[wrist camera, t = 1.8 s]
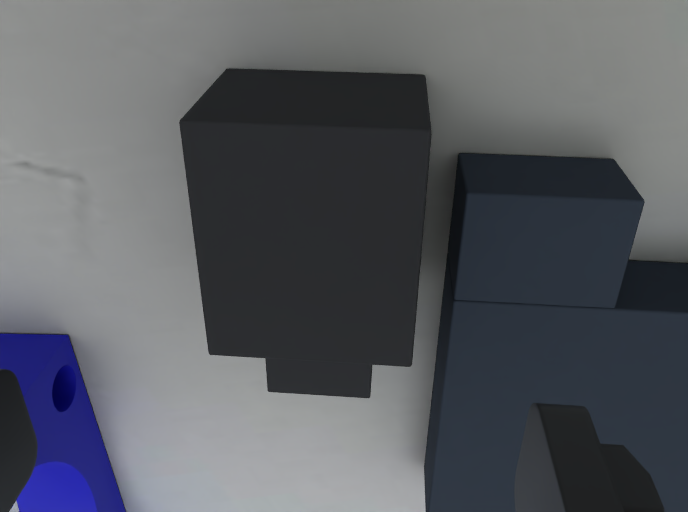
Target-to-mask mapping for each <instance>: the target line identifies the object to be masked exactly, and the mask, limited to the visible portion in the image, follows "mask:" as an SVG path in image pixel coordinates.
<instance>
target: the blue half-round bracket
mask: <svg viewBox="0 0 688 512" xmlns="http://www.w3.org/2000/svg"><path fill="white" fill-rule="evenodd" d="M0 369H7V370H10V371H12V372H13V373H14V374H15V375H16V377H17V379H18V382H19V385H20V388H21V391H22V394H23V397H24V400H25V403H26V407H27V410H28V413H29V416H30V419H31V422H32V425H33V428H34V431H35V434H36V438H37V444H38V451H37V459H36V463H35V467H34V470H33V472H32V475H31V477H30V479H29V480H28V482H27V484H26V485H25V487H24V488H23V490H22V492H21V493H20V495H19V496H18V498H17V500H16V501H17V504H18V507H19V512H126V511H125V508H124V505H123V502H122V499H121V496H120V493H119V489H118V486H117V483H116V480H115V477H114V474H113V471H112V468H111V465H110V462H109V459H108V456H107V453H106V450H105V447H104V443H103V440H102V437H101V434H100V431H99V428H98V425H97V422H96V419H95V416H94V413H93V410H92V407H91V404H90V401H89V398H88V394H87V391H86V388H85V385H84V382H83V379H82V376H81V373H80V370H79V367H78V364H77V361H76V358H75V355H74V352H73V348H72V345H71V342H70V339H69V336H68V335H46V334H0Z"/></svg>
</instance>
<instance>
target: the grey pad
mask: <svg viewBox="0 0 688 512" xmlns="http://www.w3.org/2000/svg"><path fill="white" fill-rule="evenodd" d="M643 205H644V199H643V198H642V197H641V195H640V194H639V193H638V191H637V190H636V188H635V187H634V186H633V184H632V183H631V182H630V180H629V179H628V178H627V176H626V175H625V174H624V172H623V171H622V170H621V168H620V167H619V165H618V164H617V163H616V161H615V160H614V159H598V158H572V157H547V156H521V155H496V154H470V153H460V154H459V155H458V162H457V171H456V180H455V189H454V199H453V208H452V217H451V226H450V235H449V244H448V254H447V263H446V272H445V281H444V290H443V300H442V309H441V318H440V327H439V336H438V345H437V355H436V364H435V373H434V382H433V391H432V400H431V410H430V419H429V428H428V437H427V446H426V455H425V465H424V475H425V503H426V512H516V510H515V492H514V489H515V475H516V469H517V464H518V460H519V455H520V450H521V445H522V441H523V436H524V431H525V426H526V422H527V417H528V412H529V409H530V406H531V405H532V404H533V403H543V404H559V405H575V406H584V407H586V408H587V410H588V412H589V414H590V416H591V419H592V422H593V425H594V427H595V430H596V433H597V436H598V439H599V441H600V443H601V444H616V445H624V446H625V447H626V448H627V450H628V451H629V452H630V453H631V454H632V455H633V456H634V457H635V458H636V459H637V461H638V462H639V463H640V464H641V465H642V466H643V467H644V468H645V469H646V471H647V472H648V473H649V474H650V475H651V477H652V480H653V482H654V485H655V487H656V489H657V492H658V494H659V496H660V499H661V501H662V504H663V506H664V508H665V511H664V512H688V263H667V262H647V261H628V259H629V255H630V252H631V248H632V245H633V241H634V238H635V234H636V230H637V227H638V223H639V220H640V216H641V213H642V209H643Z"/></svg>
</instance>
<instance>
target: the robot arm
mask: <svg viewBox="0 0 688 512" xmlns="http://www.w3.org/2000/svg"><path fill="white" fill-rule="evenodd" d="M37 451H38V444H37V438H36V434H35V431H34V428H33V425H32V422H31V419H30V416H29V413H28V410H27V407H26V403H25V400H24V397H23V394H22V391H21V388H20V385H19V382H18V379H17V377H16V375H15V374H14V373H13V372H12V371H10V370H7V369H0V512H9V511H10V509H11V508H12V506H13V504H14V503H15V501H16V500H17V498H18V496H19V495H20V493H21V492H22V490H23V488H24V487H25V485H26V484H27V482H28V480H29V479H30V477H31V475H32V472H33V470H34V467H35V463H36V459H37ZM514 492H515V510H516V512H664V511H665V508H664V506H663V504H662V501H661V499H660V496H659V494H658V492H657V489H656V487H655V485H654V482H653V480H652V477H651V475H650V474H649V473H648V472H647V471H646V469H645V468H644V467H643V466H642V465H641V464H640V463H639V462H638V461H637V459H636V458H635V457H634V456H633V455H632V454H631V453H630V452H629V451H628V450H627V448H626V447H625V446H624V445H616V444H601V443H600V441H599V439H598V436H597V433H596V430H595V427H594V425H593V422H592V419H591V416H590V414H589V412H588V410H587V408H586V407H584V406H575V405H559V404H543V403H533V404H532V405H531V406H530V409H529V412H528V417H527V422H526V426H525V431H524V436H523V441H522V445H521V450H520V455H519V460H518V464H517V469H516V475H515V489H514Z"/></svg>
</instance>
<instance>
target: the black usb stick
mask: <svg viewBox="0 0 688 512" xmlns="http://www.w3.org/2000/svg"><path fill="white" fill-rule="evenodd" d="M180 130H181V138H182V146H183V154H184V162H185V170H186V178H187V185H188V193H189V201H190V209H191V217H192V225H193V233H194V241H195V248H196V256H197V264H198V272H199V280H200V288H201V296H202V304H203V312H204V319H205V327H206V335H207V343H208V351H209V354H210V355H223V356H239V357H256V358H266V372H267V387H268V391H269V392H280V393H296V394H311V395H327V396H343V397H358V398H370V392H371V376H372V365H388V366H405V367H410V366H411V365H412V357H413V345H414V334H415V322H416V310H417V298H418V286H419V274H420V262H421V251H422V239H423V227H424V215H425V203H426V191H427V180H428V168H429V156H430V144H431V122H430V113H429V104H428V95H427V86H426V77H425V75H414V74H383V73H351V72H319V71H288V70H256V69H226V70H225V71H224V72H223V74H222V75H221V76H220V77H219V78H218V79H217V80H216V81H215V82H214V83H213V85H212V86H211V87H210V88H209V89H208V90H207V91H206V92H205V93H204V94H203V96H202V97H201V98H200V99H199V100H198V101H197V102H196V103H195V104H194V105H193V107H192V108H191V109H190V110H189V111H188V112H187V113H186V114H185V115H184V117H183V118H182V119H181V120H180Z"/></svg>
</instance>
